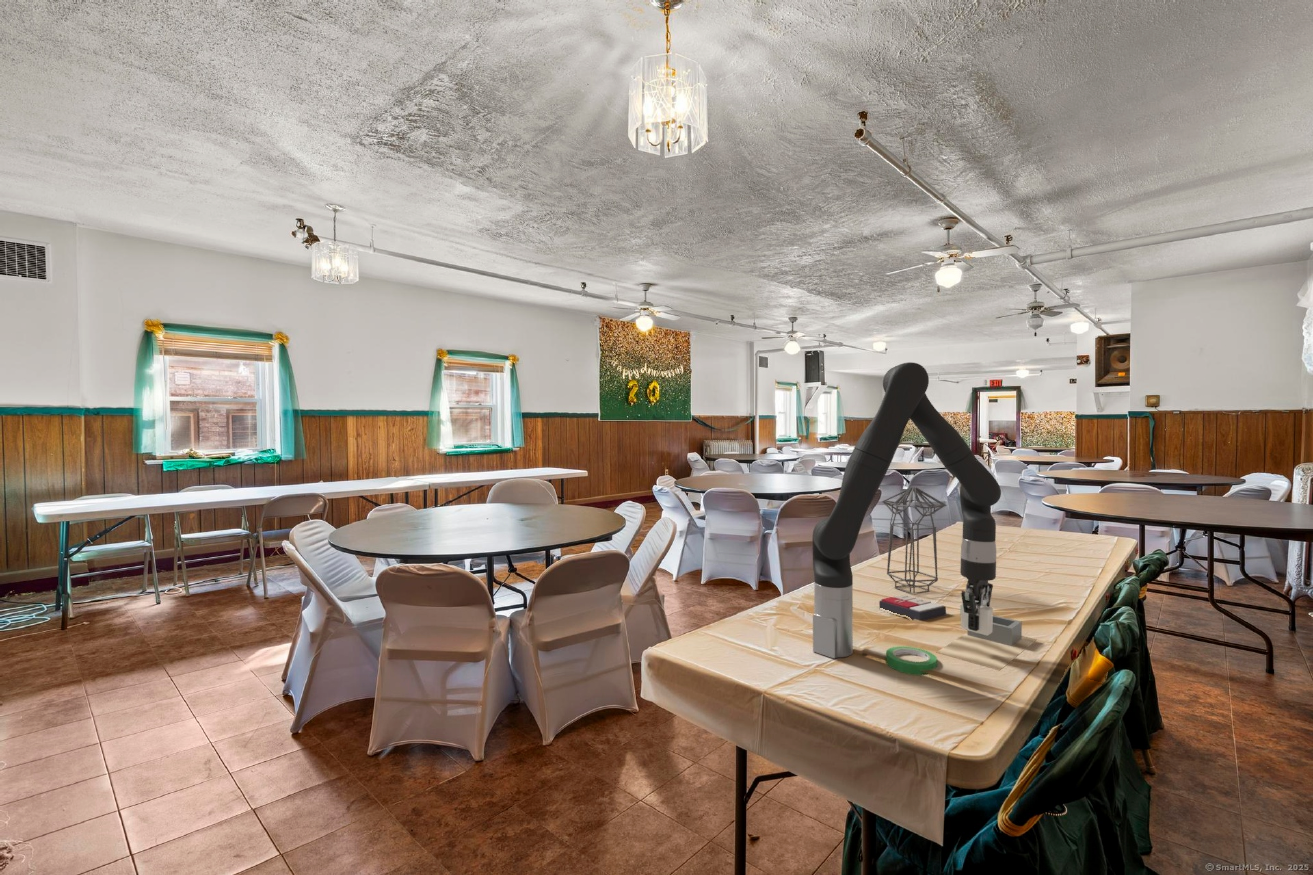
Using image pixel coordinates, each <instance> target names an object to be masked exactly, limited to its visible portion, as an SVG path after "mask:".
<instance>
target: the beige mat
mask: <svg viewBox="0 0 1313 875" xmlns="http://www.w3.org/2000/svg"><path fill="white" fill-rule="evenodd" d="M1036 641H1037V638H1034V637H1033V638H1032V637H1028V636H1024V635H1022V639H1021V640H1019V641H1018V642H1017V643H1015V644H1014V645H1013V646H1008V645H1004V644H1000V643H996V642H992V641H989V640H985V639H981V638H977V637H973V636H969V635H967V632H965V633H964V634H962V635H961V636H960V637H958V638H956V639H955V640H953V641H952V642H950V643H949V644H947V645H945V646H944V647H942V648H941V649H939V650H938V651H936V652H935V653H936V654H940V655H944V656H947V657H950V658H954V659H958V660H961V661H965V662H968V663H972V664H976V665H978V666H981V667H985V668H988V669H992V670H996V671H998V672H999V671H1001V670H1002V669H1003V668H1004V667H1005V666H1007V665H1008V664H1009V663H1011V662H1012V661H1013V660H1014V659H1015V658H1016V657H1018V656H1019V655H1020V654H1021V653H1022V652H1023V651H1025V650H1026V649H1027V648H1028V647H1030V646H1031V645H1033V643H1034V642H1036Z"/></svg>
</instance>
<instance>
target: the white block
mask: <svg viewBox="0 0 1313 875" xmlns="http://www.w3.org/2000/svg"><path fill="white" fill-rule="evenodd" d="M971 609H972V607H971ZM993 615H994V607H990V606H989V607H987V606H983V605H982V606H980V614H979V630H978V631H974V630H970V629H969V628H968V613H965V612H964V608H963V603H961V604H960V629H961V630H964V631H967V630H968V631H972V632H976V633H979V634H983V635H987V636H988V635H989V634H991V633H992V627H993Z"/></svg>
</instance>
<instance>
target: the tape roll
mask: <svg viewBox="0 0 1313 875" xmlns="http://www.w3.org/2000/svg"><path fill="white" fill-rule="evenodd" d="M885 655H886V656H885V659H886V660H885V662H886V664H887V666H888V667H890V668H891V669H892V670H895V671H897V672H901V673H903V674H908V675H913V676H927V675H930V673H928V672H926V671H930V670H933V669H936V667H938V657H937V656H936V655H935V654H934V653H932V652H930V651H928V650H924V649H923V648H922V649H921V648H917V647H911V646H904V645H903V646H892V647H890V648H888V649H887V650H886V651H885ZM899 655H912V656H917V657H919V658H923V659H925V660H924V661H911V660H906V659H903V658H901V657H898V656H899Z"/></svg>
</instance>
